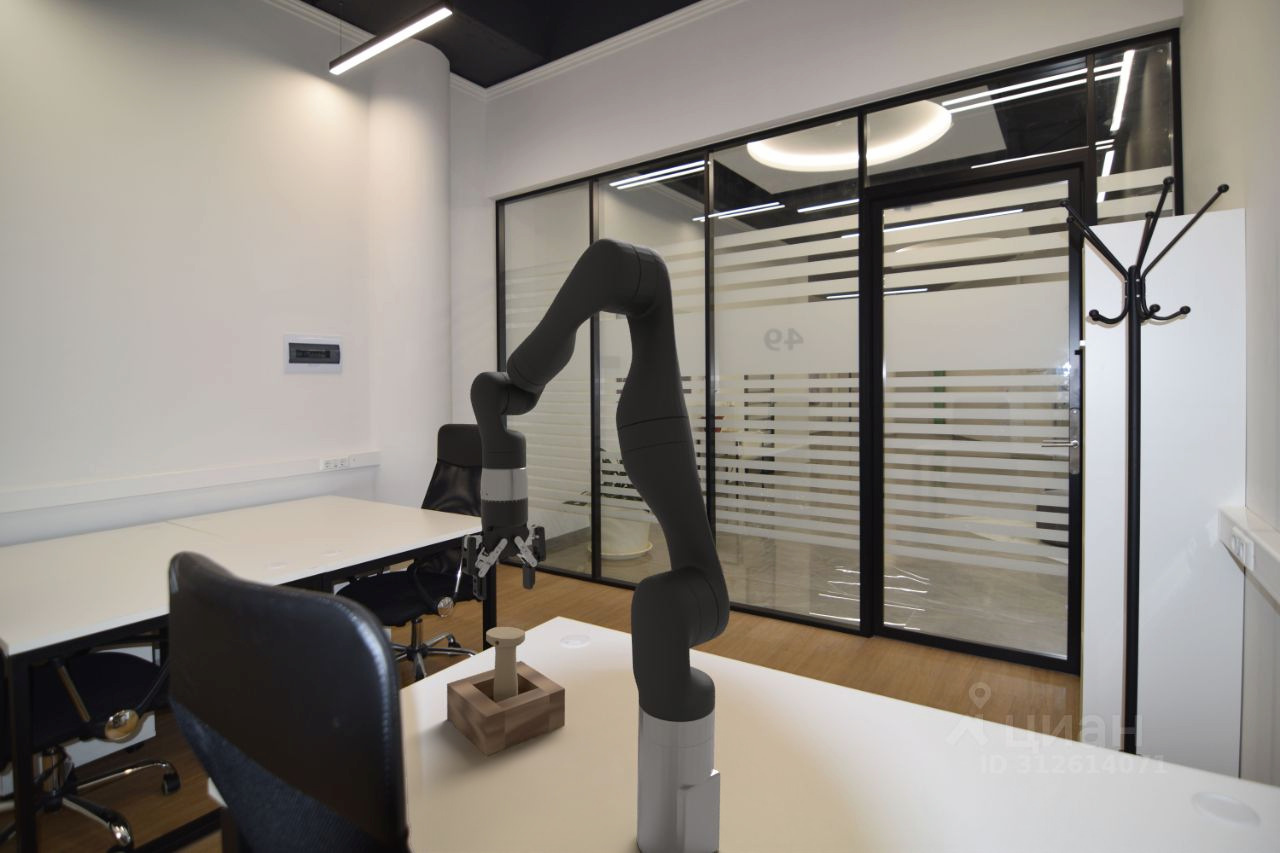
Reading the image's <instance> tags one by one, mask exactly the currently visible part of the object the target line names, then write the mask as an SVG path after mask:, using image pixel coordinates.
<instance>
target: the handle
mask: <svg viewBox="0 0 1280 853" xmlns="http://www.w3.org/2000/svg"><path fill="white" fill-rule="evenodd" d="M485 635H486V636H485V641H486V642H487V643H489V644H490V645H491V646H493V647H494V652H495V654H494V655H495V658H494V669H495V672H494V689H493V692H494V702H495V703H497V702H500V701H502V700H505V699H508V698H511V697H514V696H517V695H518V678H517V662H518V661H517V647H518V646H520V645H521V644H523V643H524V642H525V640H526V631H525V630H523V629H520V628H516V627H512V626H495V627H493V628H490V629H488V630H487V631H486V633H485Z"/></svg>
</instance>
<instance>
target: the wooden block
mask: <svg viewBox="0 0 1280 853" xmlns="http://www.w3.org/2000/svg"><path fill="white" fill-rule="evenodd" d="M516 662H517V678H518V695H517V696H514V697H511V698H508V699H505V700H502V701H500V702H497V703H495V702H494V692H493V689H494V672H495V668H493V669H490V670H487V671H483V672H480V673H477V674H474V675H471V676H468V677H465V678H461V679H458V680H455V681H450V682H448V683H447V684H446V719H447V720H448V721H449V723H451V724H452V725H453V726H454V727H455V726H456V727H457V728H456V727H455V728H456V729H457V730H459V731H460V732H461V733H462V734H463V735H464V736H465V737H466V738H467V739H468V740H469V741H470V742H472V744H473V745H475V746H476V748H478V749H479V750H480V751H481V752H482V753H483V754H484V755H485V756H487V757H488V756H490V755H493V754H494V753H495V754H496V753H497V752H501V751H503V750H505V749H507V748H510V747H513V746H515V745H518V744H520V743H522V742H525V741H527V740H530V739H533V738H534V737H538V736H539V735H542V734H544V733H547V732H550V731H552V730H554V729H557V728H559V727H561V726H564V725H566V689H565V687H563V686H561V685H560V684H559V683H557V682H555V681H553V680H552V679H551V678H548V677H547V676H546V675H544V674H542V673H541V672H540V671H538V670H536V669H535V668H533V667H532V666H530V665H528V664H526V663H525V662H524V661H522V660H519V661H516Z"/></svg>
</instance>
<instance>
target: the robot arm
mask: <svg viewBox="0 0 1280 853" xmlns="http://www.w3.org/2000/svg"><path fill="white" fill-rule="evenodd" d="M672 289H673V288H672V283H671V276H670V272H669V268H668V265H667V262H666V261H665V259H664V257H663V255H661V253H659V252H658V250H656V249H654V248H652V247H649V246H647V245H643V244H638V243H635V242H630V241H627V240H623V239H618V238H614V237H613V238H612V237H602V238H599V239H597V240H595V241H594V242H593V243H591V244H590V245H589V246H588V247H587V248H586V249H585V251H584V252H583V253H582V255H581V256H580V257H579V258H578V260H577V261H576V263H575V265H574V266H573V268H572V270H571V271H570V272H569V274H568V276H567V278H566V279H565V281H564V282H563V284H562V286H561V287H560V289H559V290H558V292H557V294H556V295H555V296H554V299H553V301H552V303H551V304H550V306H549V307H548V309H547V310H546V312H545V314H544V315H543V317H542V318H541V320H540V321H539V323H538V324H537V325H536V326H535V328H534V329H533V330H532V331H531V332H530V333H529V334H528V335H527V337H525V339H524V340H523V341H522V342H520V344H519V345H518V346H517V347H516V348H515V349H514V350H513V352H512V353H511V354H510V356H509V357H508V358H507V361H506V364H505V370H506V371H505V372H503V371H483V372H480V373H479V374H477V376H476V377H475V378H474V379H473V381H472V383H471V385H470V389H469V390H470V392H469V396H470V398H469V399H470V404H471V407H472V408H471V409H472V411H473V414H474V417H475V421H476V424H477V428H478V432H479V436H480V440H481V447H482V448H481V451H482V452H481V456H482V458H481V460H482V462H481V463H482V465H481V466H482V467H481V468H482V470H481V477H480V478H481V479H480V490H479V491H480V524H481V532H480V534H479V535H477V534H475V535H469V534H467V533H466V534H464V535H463V536H462V537H461V539H462V540H461V556H460V557H461V558H460V560H461V561H460V571H461V572H462V573H464V574H466V575H468V576H472V593H473V595H474V596H476V597H475V598H477V599H478V600H480V601H483V600H486V599H487V576H486V574H487V573H488V571H489V569H490V567H492V566H494V564H495V562H496V561H497V560H503V559H505V558H508V557H510V558H511V557H513V558H514V557H517V556H518V557H519V558H520V560H521V561H522V563H523V564H524V565H522V587H523V589H525V590H532V589H534V586H535V584H536V566H537V565H538V564H539V563H540V562H545V561H546V560H547V548H546V547H547V546H546V530H545V527H544V526H541V525H539V524H532V525H531V526H530V527H528V522H529V479H528V473H527V472H528V470H527V439H526V436H525V434H524V433H523V432H521V431H518V430H513V429H510V428H507V427H506V425H505V423H504V420H503V418H502V417H504V416H521V415H525V414H528V413H529V412H531V411H532V410H534V408H536V406H537V404H538V403H539V400H540V398H541V396H542V394H543V393H544V390H545V389H546V386H547V384H549V383H550V382H551V381H552V380H553V379H554V378H555V377H556V376H557V375H558V374H559V373H560V372H562V371H563V370H564V368H565V367H566V366H567V365H568V364H569V363H570V361H571V359H572V357H573V354H574V351H575V347H576V341H577V340H576V338H577V332H578V331H579V330H578V329H579V328H580V327H581V326H582V325H583V324H584V323H586V321H588V320H589V319H591V318H592V317H593V316H595V315H597V314H598V313H600V312H604V313H609V314H615V315H622V316H625V317H626V320H627V325H628V329H629V334H630V335H629V336H630V342H631V360H630V361H631V363H630V366H629V369H628V372H627V376H626V378H625V382H624V384H623V386H622V390H621V393H620V395H619V398H618V402H617V407H616V413H615V425H616V426H615V427H616V431H617V433H616V434H617V438H618V444H619V450H620V456H621V461H622V466H623V469H624V471H625V474H626V476H627V477H628V478H627V479H629V481H630V483H631V484H632V487H634V490H636V492H637V493H638V495H640V497H641V498H642V499H643V502H644V503H645V504H646V505H647V507H648V508H649V509H650V510H651V512H652V513H653V515H654V516H655V518H656V519H657V522H658V523H659V525H660V527H661V529H662V532H663V535H664V539H665V542H666V547H667V550H668V556H669V562H670V569H671V570H668V571H667V570H666V571H663V572H660V573H655V574H652V575H650V576H647V577H645V578H643V579H642V580H640V581H639V583H638V584H637V585H636V587H635V589H634V592H633V594H632V598H631V605H630V631H631V632H630V633H631V635H630V636H631V653H632V654H631V656H632V659H631V660H632V670H633V671H632V672H633V676H634V682H635V684H636V688H637V691H638V718H637V719H638V722H637V723H638V725H637V730H638V731H637V786H636V787H637V796H636V797H637V798H636V799H637V800H636V801H637V802H636V803H637V805H636V809H637V812H636V813H637V814H636V815H637V817H636V825H637V826H636V841H637V845H638V848H639V850H640V852H641V853H715V852H717V851H719V850H720V823H721V820H720V818H721V816H720V814H721V773H720V771H718V770H716V769H715V729H716V725H715V724H716V720H715V719H716V686H715V682H714V680H713V678H712V677H711V676H710V675H709V674H707V672H704V671H703V670H701V669H699V668H696V667H694V666H691V660H690V659H691V656H690V655H691V654H690V650H691V649H692V648H695V647H698V646H700V645H702V644H705V643H708V642H710V641H712V640H714V639H716V638H718V637H719V636H721V635H722V634H724V631H726V628H727V627H728V625H729V624H728V623H729V620H730V613H731V602H730V598H729V597H730V596H729V591H728V587H727V583H726V579H725V575H724V572H723V568H722V564H721V561H720V558H719V554H718V551H717V547H716V543H715V540H714V537H713V534H712V529H711V527H710V522H709V518H708V513H707V508H706V504H705V499H704V495H703V494H704V493H703V489H702V484H701V479H700V474H699V470H698V465H697V457H696V450H695V443H694V438H693V433H692V428H691V422H690V416H689V412H688V408H687V404H686V400H685V393H684V387H683V382H682V375H681V369H680V362H679V356H678V348H677V342H676V331H675V317H674V303H673V302H674V301H673V290H672ZM528 538H530V540H531V550H530V548H528V546H527V545H526V542H527V540H528ZM480 544H481V545H482V546H483V547H482V550H481V551H480V552H479V554H478V555H477V549H479V547H480V546H479V545H480ZM476 556H477V560H476Z"/></svg>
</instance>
